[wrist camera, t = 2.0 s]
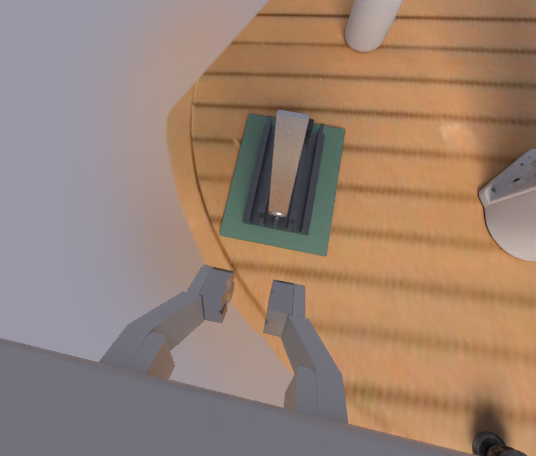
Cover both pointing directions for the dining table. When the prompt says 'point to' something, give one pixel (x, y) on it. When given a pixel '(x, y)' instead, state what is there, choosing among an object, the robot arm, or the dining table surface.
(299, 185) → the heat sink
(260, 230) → the circuit board
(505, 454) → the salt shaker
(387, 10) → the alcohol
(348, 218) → the dining table surface
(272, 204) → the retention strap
